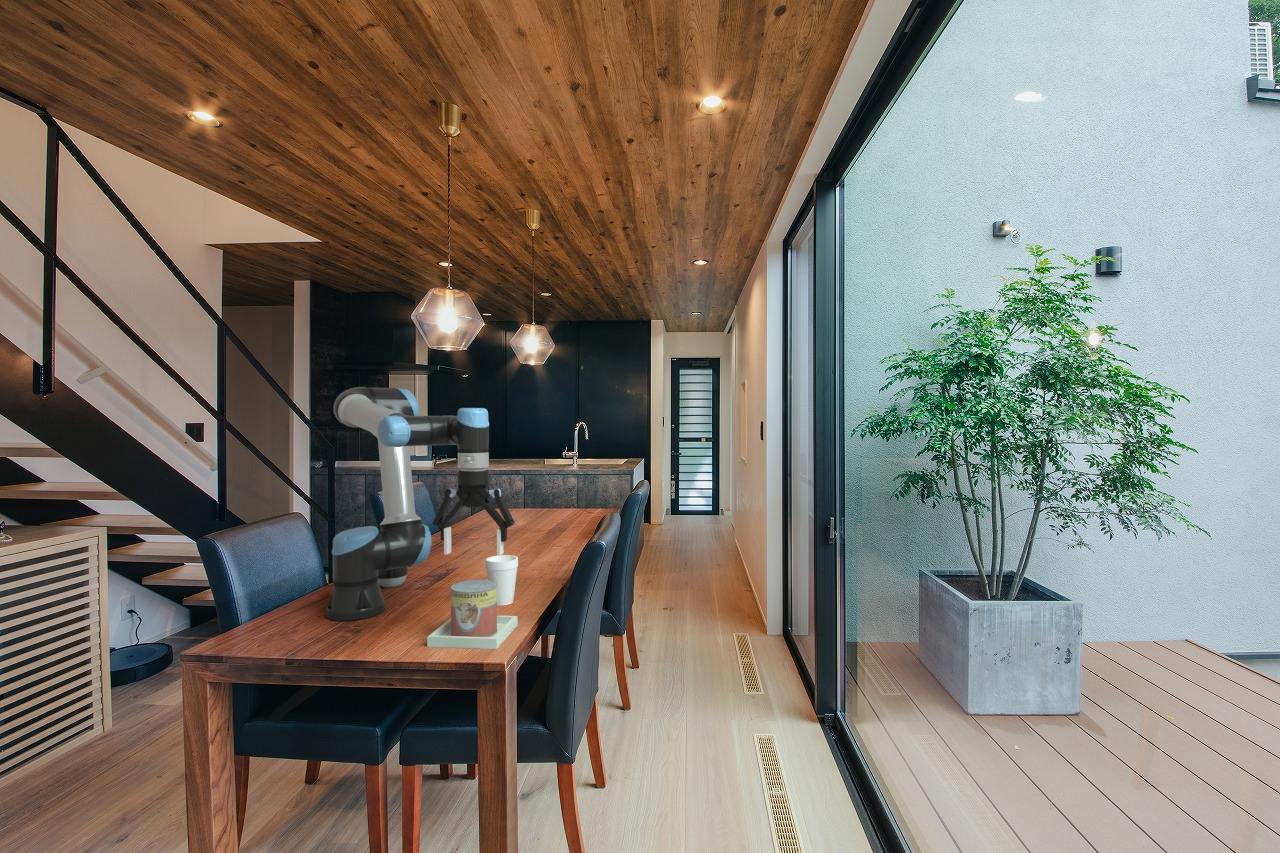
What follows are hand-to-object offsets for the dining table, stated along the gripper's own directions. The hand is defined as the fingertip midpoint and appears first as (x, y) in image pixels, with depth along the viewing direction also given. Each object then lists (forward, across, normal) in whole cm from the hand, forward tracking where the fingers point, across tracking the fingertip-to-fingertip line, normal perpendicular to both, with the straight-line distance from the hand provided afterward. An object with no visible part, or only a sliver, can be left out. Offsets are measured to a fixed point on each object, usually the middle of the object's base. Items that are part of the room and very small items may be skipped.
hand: (473, 554), depth 155 cm
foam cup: (+21, -2, +28) cm, 35 cm away
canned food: (+20, 0, 0) cm, 20 cm away
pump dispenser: (+21, -44, +43) cm, 65 cm away
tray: (+20, 0, 0) cm, 21 cm away
